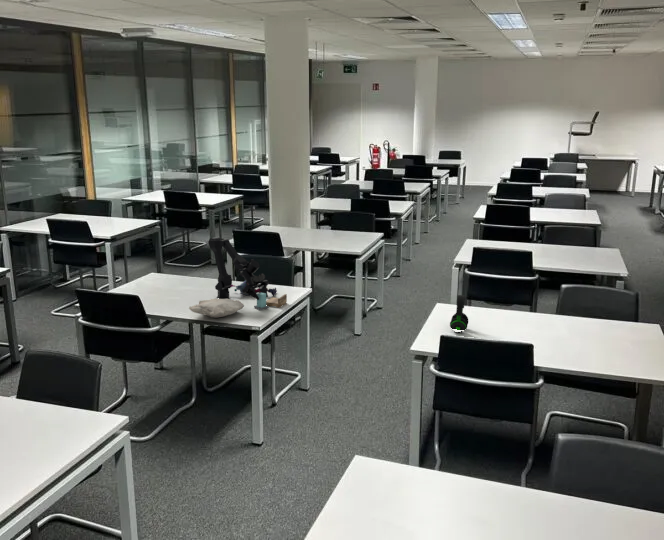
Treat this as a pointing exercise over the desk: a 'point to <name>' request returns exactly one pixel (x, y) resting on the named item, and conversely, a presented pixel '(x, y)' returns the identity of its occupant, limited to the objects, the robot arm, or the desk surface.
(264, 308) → the gray block
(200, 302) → the decorative stone
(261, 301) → the teal block
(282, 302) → the tan piece
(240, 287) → the toy
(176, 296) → the desk surface
